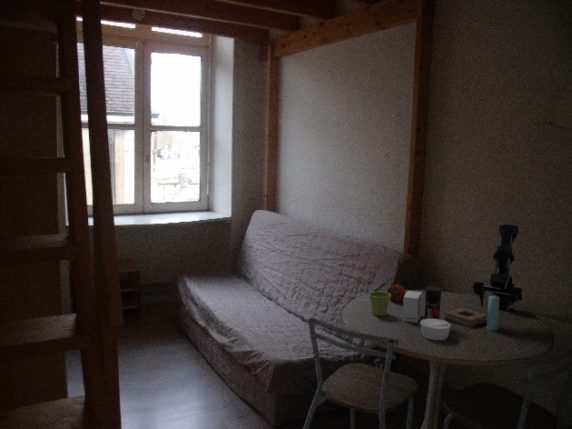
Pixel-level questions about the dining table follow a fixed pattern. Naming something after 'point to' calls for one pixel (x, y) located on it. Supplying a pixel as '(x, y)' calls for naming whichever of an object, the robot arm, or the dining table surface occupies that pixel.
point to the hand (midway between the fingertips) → (493, 308)
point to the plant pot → (379, 302)
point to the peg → (493, 313)
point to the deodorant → (432, 303)
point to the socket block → (465, 317)
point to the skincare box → (412, 306)
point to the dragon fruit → (396, 292)
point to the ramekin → (435, 329)
